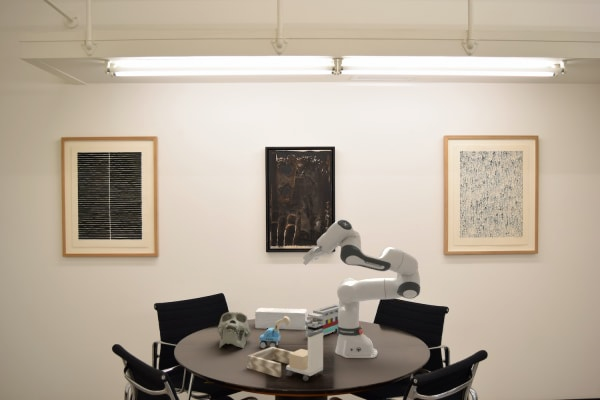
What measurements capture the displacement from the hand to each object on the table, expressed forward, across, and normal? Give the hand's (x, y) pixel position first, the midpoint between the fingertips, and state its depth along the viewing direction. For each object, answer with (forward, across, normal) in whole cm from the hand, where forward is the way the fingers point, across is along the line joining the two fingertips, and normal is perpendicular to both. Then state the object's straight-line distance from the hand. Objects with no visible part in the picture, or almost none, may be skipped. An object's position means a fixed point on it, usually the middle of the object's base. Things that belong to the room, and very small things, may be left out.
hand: (310, 260), depth 241 cm
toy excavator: (+58, +1, -19) cm, 61 cm away
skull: (+72, -10, -4) cm, 73 cm away
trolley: (+26, -24, -41) cm, 54 cm away
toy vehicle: (+56, +39, -30) cm, 74 cm away
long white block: (+79, +36, -9) cm, 88 cm away
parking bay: (+40, -23, -29) cm, 54 cm away
